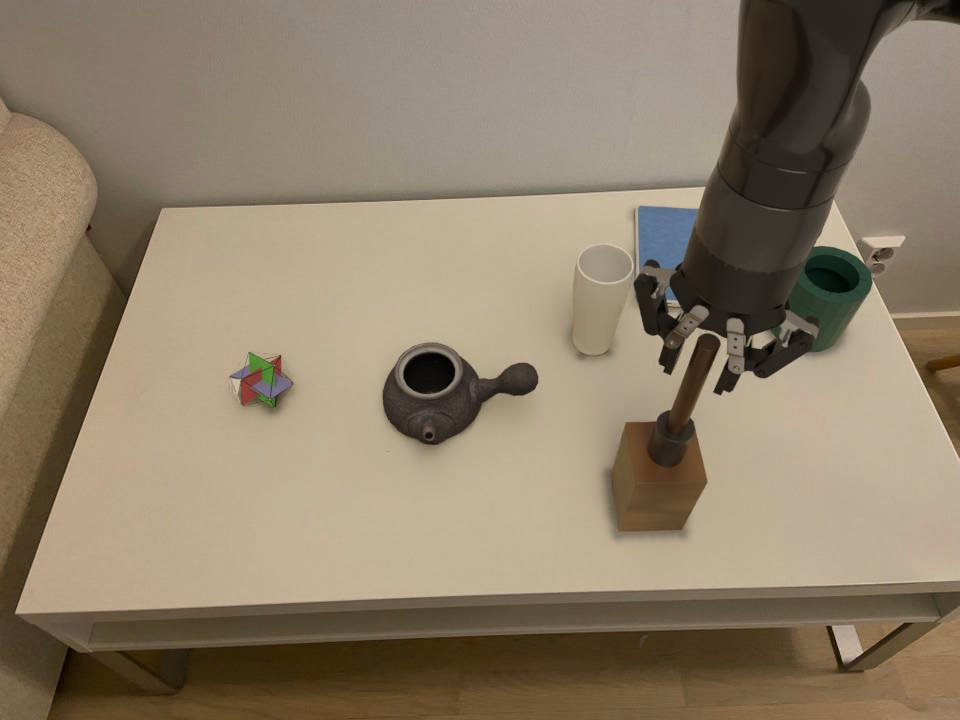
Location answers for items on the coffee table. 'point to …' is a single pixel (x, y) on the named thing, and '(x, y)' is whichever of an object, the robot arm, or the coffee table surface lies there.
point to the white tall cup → (599, 296)
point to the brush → (683, 406)
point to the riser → (654, 483)
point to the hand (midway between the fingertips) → (695, 376)
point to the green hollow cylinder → (829, 292)
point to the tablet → (663, 238)
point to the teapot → (444, 391)
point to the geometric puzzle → (259, 380)
